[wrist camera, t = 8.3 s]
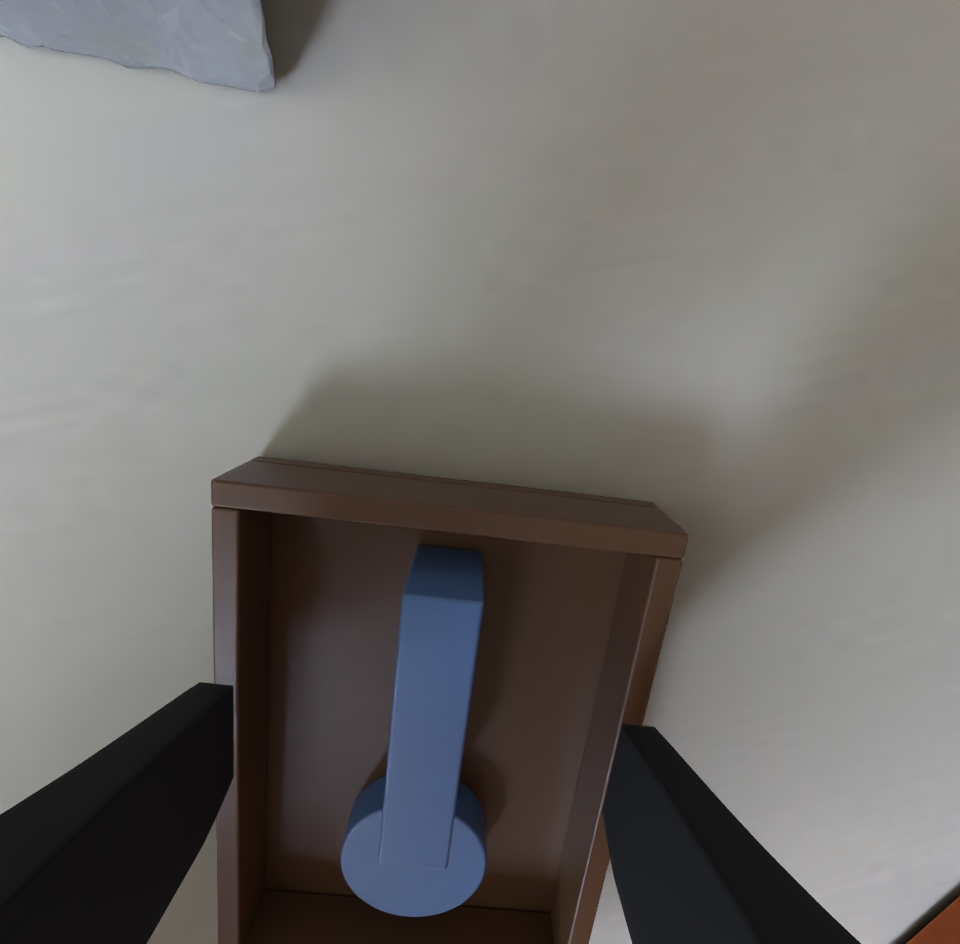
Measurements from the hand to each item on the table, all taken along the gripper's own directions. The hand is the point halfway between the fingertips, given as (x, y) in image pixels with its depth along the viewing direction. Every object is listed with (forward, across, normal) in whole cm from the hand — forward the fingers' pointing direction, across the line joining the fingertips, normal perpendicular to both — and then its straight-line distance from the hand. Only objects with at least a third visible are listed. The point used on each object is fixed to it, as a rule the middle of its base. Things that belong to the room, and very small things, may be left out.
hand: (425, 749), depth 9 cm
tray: (+3, 0, +2) cm, 3 cm away
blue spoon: (+2, 0, +1) cm, 3 cm away
